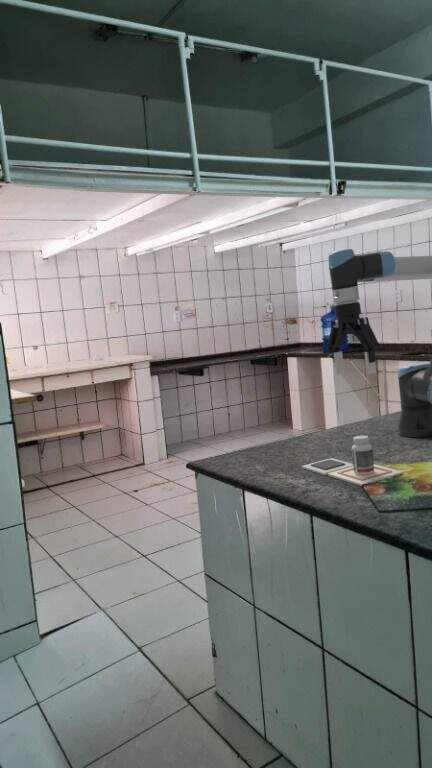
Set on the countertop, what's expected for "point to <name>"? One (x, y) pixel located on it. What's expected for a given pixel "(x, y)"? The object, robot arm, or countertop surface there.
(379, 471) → the print card
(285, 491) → the countertop surface
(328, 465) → the ink pad
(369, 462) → the pill bottle
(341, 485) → the countertop surface
